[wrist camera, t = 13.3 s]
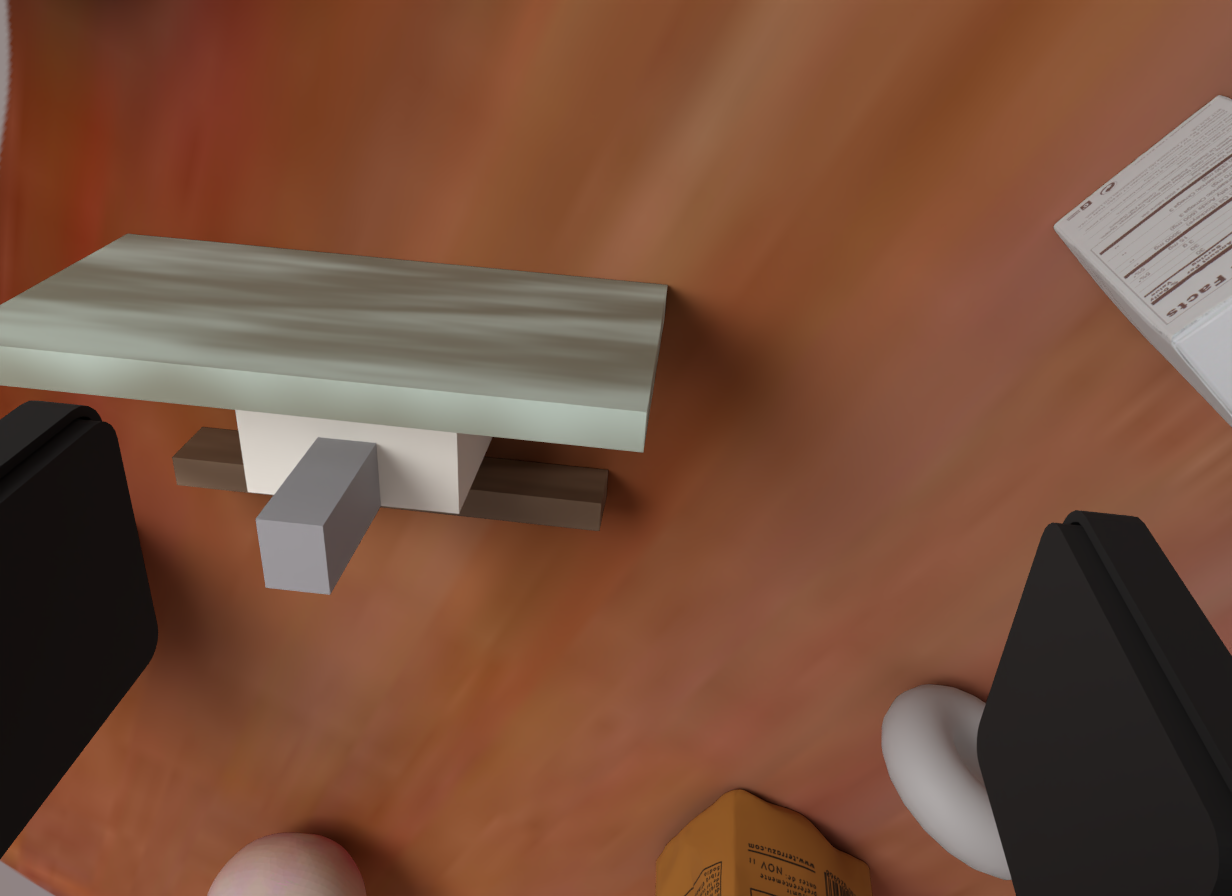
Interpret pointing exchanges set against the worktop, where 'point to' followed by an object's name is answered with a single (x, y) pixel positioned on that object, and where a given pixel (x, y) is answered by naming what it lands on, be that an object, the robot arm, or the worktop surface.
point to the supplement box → (1170, 248)
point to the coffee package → (756, 855)
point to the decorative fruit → (290, 869)
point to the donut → (943, 772)
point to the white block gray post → (343, 486)
